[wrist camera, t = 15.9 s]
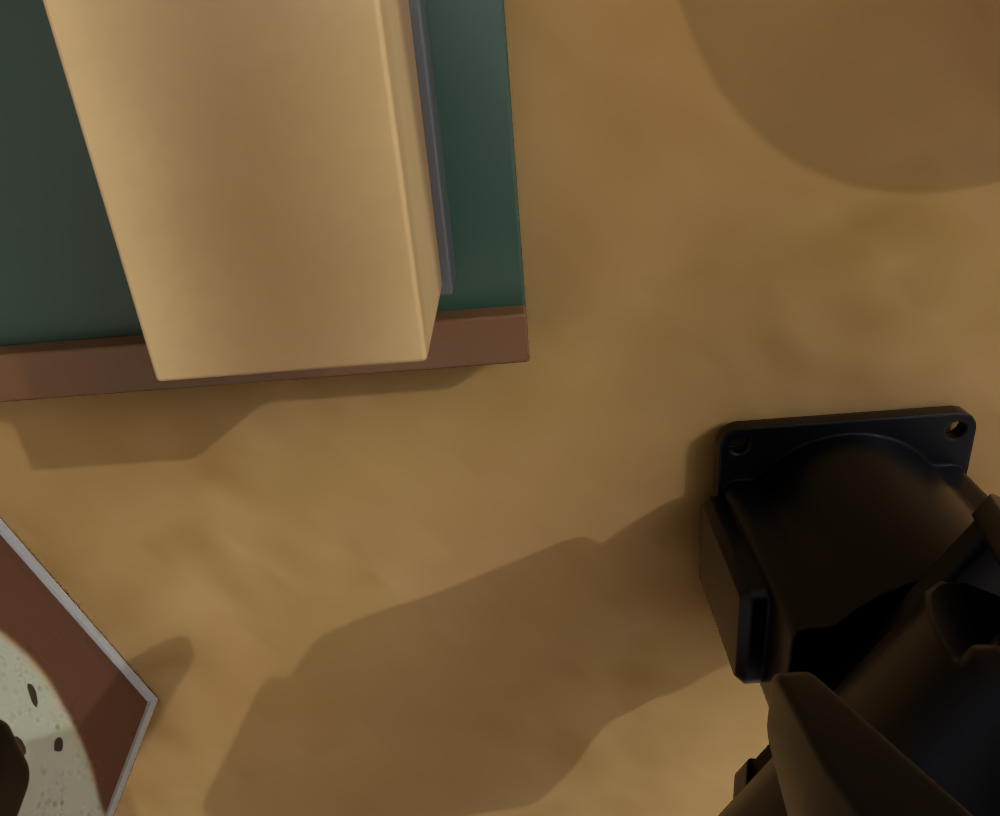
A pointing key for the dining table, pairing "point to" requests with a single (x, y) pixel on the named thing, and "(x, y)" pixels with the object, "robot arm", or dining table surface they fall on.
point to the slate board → (95, 258)
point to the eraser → (267, 176)
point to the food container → (64, 694)
